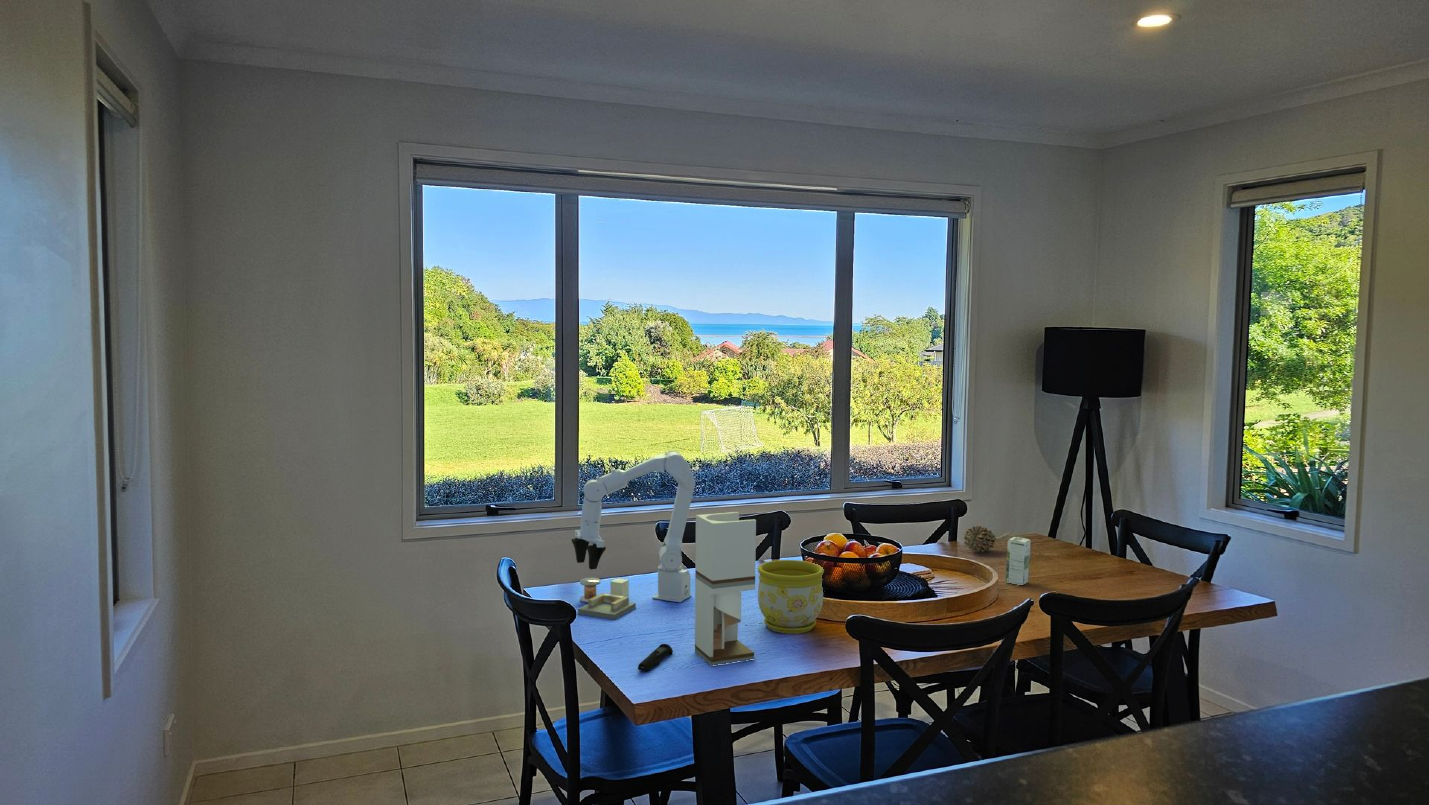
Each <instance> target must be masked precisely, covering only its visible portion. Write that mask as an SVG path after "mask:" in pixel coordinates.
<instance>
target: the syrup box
mask: <svg viewBox="0 0 1429 805" xmlns="http://www.w3.org/2000/svg"><path fill="white" fill-rule="evenodd" d="M1030 558H1031V539H1029V538H1024V537H1019V536H1013V537H1010V538H1009V539H1008V540H1007V550H1006V568H1005V571H1006V572H1005V584H1007V583H1012V584H1017V585H1016V586H1019V585H1024V584H1025V585H1027V584H1028V583H1029V575H1030V560H1031V559H1030ZM1027 582H1028V583H1027ZM1026 583H1027V584H1026ZM1012 584H1011V585H1012ZM1025 585H1024V586H1025Z"/></svg>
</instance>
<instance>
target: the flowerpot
mask: <svg viewBox="0 0 1429 805" xmlns="http://www.w3.org/2000/svg"><path fill="white" fill-rule="evenodd" d="M757 572H758V573H759V576H758V579H759V581H758V586H757V587H758V588H757V602H758V607H759V610H760V612H761V614H762V615H763V617H764V619H763V623H764V624H765V625H766V626H767V628H768V629H769V630H771V631H773V632H777V633H780V632H781V633H780V634H790V635H792V634H793V635H795V634H802V633H803V634H804V633H808V632H809V631H811V630H812V629H813V628H814V627H815V626H816V625H817V620H816V619H817V617H818V616H819V615H820V612H822V611H821V610H822V609H823V608H822V607H823V604H824V603H823V602H824V592H823V587H822V580H823V579H822V575H823V573H824V569H823V567H821V566H820V565H818V564H815V563H812V561H807V560H800V559H799V560H797V559H774V560H769V561H766V562H763V563H761V564H759V565H758V566H757Z"/></svg>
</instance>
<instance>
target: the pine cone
mask: <svg viewBox="0 0 1429 805" xmlns="http://www.w3.org/2000/svg"><path fill="white" fill-rule="evenodd" d="M1010 534H1011V533H1010V532H1005V533H1004V534H1002V535H1001V536H997V537H996V534H994V532H992V530H990V529H989V530H988V528H987V527H984V526H983V527H982V525H976V526H975V525H973V526H972V527H970V528H967V529H966V532H964V533H963V535H964V537H962V539H963V541H964V542H963V544H964V545H965V547H966V546H967V547H968V549H969V550H971V551H974V552H976V551H977V552H980V551H982V552H990V550H991V548H992V549H994V548H995V546H996V542H998V541H1003V540H1005V539H1007V538H1011V536H1010ZM985 550H986V551H985Z"/></svg>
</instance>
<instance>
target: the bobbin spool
mask: <svg viewBox="0 0 1429 805" xmlns="http://www.w3.org/2000/svg"><path fill="white" fill-rule="evenodd" d="M579 584H580V585H581V586H584V587H583V591H584V592H583V593H584V594H583V595H582V596H580V597H579V598H580V599H579V601H580V602H581V603H583V604H584V603H585V604H588V600H589V599H591V598H593V597H595V596H597V595H598V594H597V586H599V585H600V584H601V579H600V578H597V577H585V578H581V579H580V580H579Z"/></svg>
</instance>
